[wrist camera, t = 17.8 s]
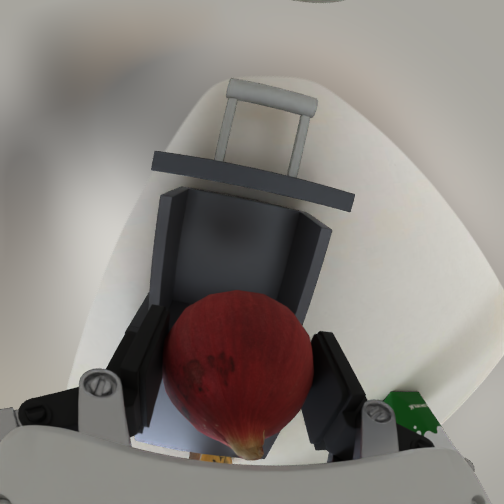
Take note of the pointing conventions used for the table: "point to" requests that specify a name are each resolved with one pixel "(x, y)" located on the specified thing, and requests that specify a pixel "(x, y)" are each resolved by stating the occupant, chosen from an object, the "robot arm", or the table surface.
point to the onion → (238, 368)
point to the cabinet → (180, 420)
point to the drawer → (241, 221)
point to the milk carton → (418, 417)
